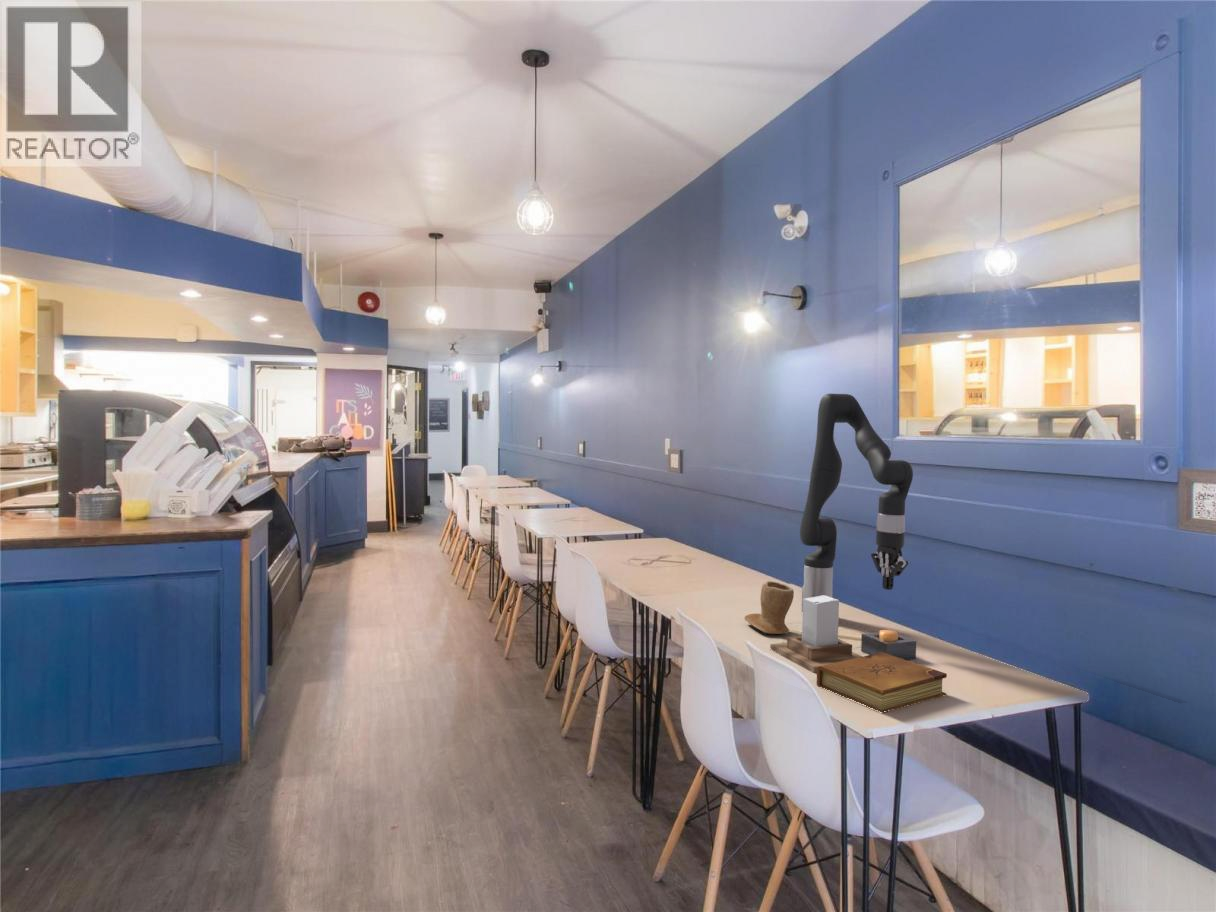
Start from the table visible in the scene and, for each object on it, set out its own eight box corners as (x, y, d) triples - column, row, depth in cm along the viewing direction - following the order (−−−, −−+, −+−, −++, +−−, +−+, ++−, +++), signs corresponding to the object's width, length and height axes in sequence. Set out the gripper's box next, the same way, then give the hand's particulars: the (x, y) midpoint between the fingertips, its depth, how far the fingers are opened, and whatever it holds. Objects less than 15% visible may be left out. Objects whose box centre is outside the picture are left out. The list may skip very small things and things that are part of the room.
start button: (875, 644, 194) (875, 630, 194) (889, 643, 196) (889, 629, 196) (887, 649, 190) (887, 635, 190) (901, 648, 191) (902, 633, 191)
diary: (879, 673, 180) (880, 651, 180) (945, 697, 164) (946, 673, 164) (816, 687, 168) (817, 664, 168) (881, 715, 152) (882, 689, 152)
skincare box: (822, 647, 194) (824, 594, 194) (839, 653, 189) (840, 599, 188) (800, 650, 190) (801, 597, 190) (816, 657, 185) (817, 602, 185)
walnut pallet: (770, 649, 196) (770, 633, 196) (823, 643, 202) (823, 628, 202) (813, 672, 177) (814, 655, 177) (870, 665, 183) (871, 649, 183)
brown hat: (799, 636, 210) (800, 587, 209) (762, 637, 207) (763, 588, 207) (777, 622, 225) (778, 576, 224) (742, 624, 222) (744, 577, 222)
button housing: (861, 651, 196) (861, 633, 196) (889, 648, 199) (890, 631, 199) (886, 662, 186) (886, 644, 186) (915, 659, 190) (916, 641, 190)
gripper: (864, 526, 204) (861, 584, 205) (896, 533, 191) (893, 595, 192) (884, 525, 206) (882, 582, 207) (918, 533, 194) (915, 594, 195)
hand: (887, 589), depth 200 cm, fingers closed
